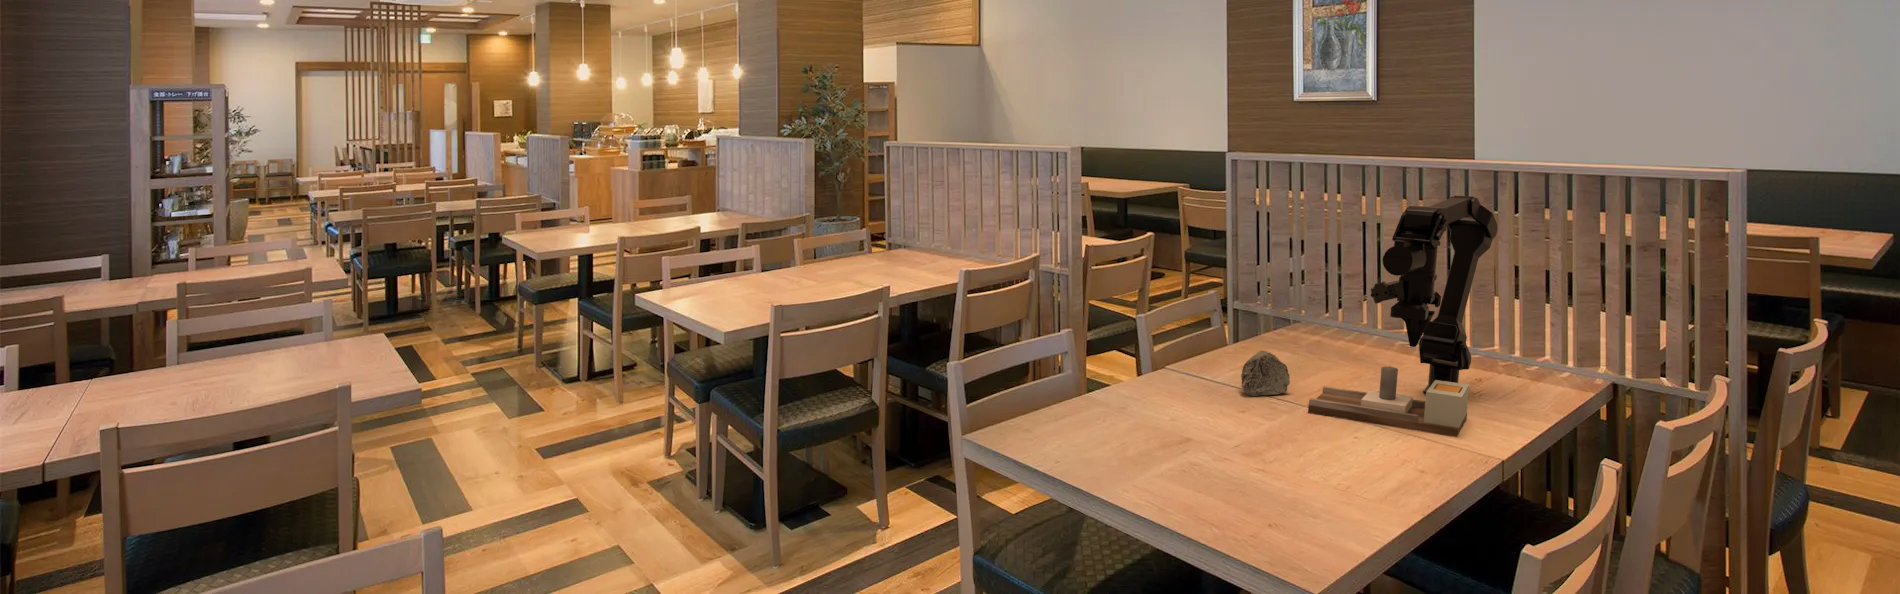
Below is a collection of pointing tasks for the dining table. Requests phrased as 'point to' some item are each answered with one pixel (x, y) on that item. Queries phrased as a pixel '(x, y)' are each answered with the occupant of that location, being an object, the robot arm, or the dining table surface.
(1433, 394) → the button housing
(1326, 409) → the track
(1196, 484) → the dining table surface
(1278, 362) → the stone
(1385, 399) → the carriage
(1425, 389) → the robot arm
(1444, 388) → the button
